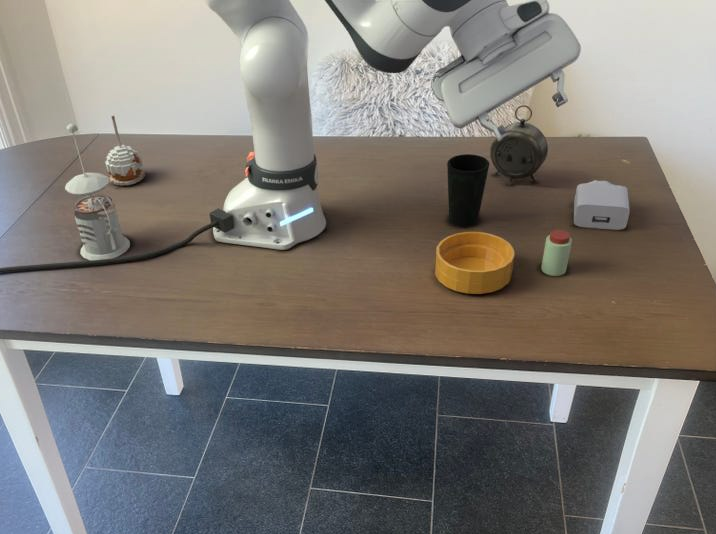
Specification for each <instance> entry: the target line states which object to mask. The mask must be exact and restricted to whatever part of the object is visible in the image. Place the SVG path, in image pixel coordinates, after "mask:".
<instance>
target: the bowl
mask: <svg viewBox="0 0 716 534" xmlns="http://www.w3.org/2000/svg"><path fill="white" fill-rule="evenodd" d="M435 249H436V251H435V264H434V265H435V266H434V272H435V273H434V275H435V278H436V279H437V280H438V282H439V283H441V284H442V285H443V286H444V287H446V288H447V289H450V290H453V291H455V292H457V293H464V294H472V295H477V294H478V295H481V294H489V293H494V292H496V291H500V290H501V289H503V288H505V287H506V286H507V285H508V284H509V283H510V281H511V279H512V276H513V269H514V262H515V255H516V254H515V248H514V247H513V245H511V243H510V242H509V241H507V240H506V239H504V238H503V237H501V236H498V235H496V234H492V233H488V232H483V231H463V232H457V233H454V234H451V235H447V236H446V237H445V238H443V239H442V240H440V241H439V243H438V244H437V246H436V248H435Z"/></svg>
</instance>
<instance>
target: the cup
mask: <svg viewBox="0 0 716 534" xmlns="http://www.w3.org/2000/svg"><path fill="white" fill-rule="evenodd" d="M446 164H447V198H448V199H447V201H448V202H447V203H448V204H447V205H448V222H449V224H451V225H452V226H454V227H458V228H471V227H473V226H476V225H477V224H478V222H479V218H480V213H481V207H482V203H483V197H484V192H485V188H486V183H487V179H488V173H489V169H490V161H489V160H488V159H487V158H486V157H484V156H481V155H477V154H471V153H470V154H467V153H466V154H464V153H463V154H458V155H454V156H452V157H451V158H449V159H448V160H447V162H446Z"/></svg>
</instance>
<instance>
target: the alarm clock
mask: <svg viewBox="0 0 716 534" xmlns="http://www.w3.org/2000/svg"><path fill="white" fill-rule="evenodd" d="M521 108H527V109H528V110H529V117H528V118H527V119H525V118H521V119H520V118H519V117H518V114H517V113H518V110H519V109H521ZM514 116H515V118H516V120H517V122H513V123H509V124H508V125H505V126H504V128H505V131H506V132H507V134H508V136H507V137H506V138H504V139H503V140H501V141H498V140H497V138H496V137H495V138H494V139H493V140H492V143H491V146H490V148H489V149H490V151H489V155H490V160H491V163H492V165H493V167H494V168H495V169H496V171H495V172H494V175H495V176H496V175H498V174H499V173H500V175H503V176H504V177H505V178H508V182H507V184H508V185H509V186H511V185H512V184H513V180H524V179H527V178H530V179H531V180H532V182H533V184H536V183H537V180H536V177H535V174H536V173H537V172H538V171H539V169H540V168H541V167H542V165H543V164H544V163H545V161H546V159H547V156H548V152H549V147H548V145H549V144H548V141H547V139H546V137H545V134H544V133H543V132H542V131H541V130H540V129H539V128H538V127H537V126H535V125H533V124H531V123H528V121H529V120H531V118H532V116H533V110H532V108H531V107H530V106H529V105H526V104H521V105H519V106H518V107H516V108H515V111H514Z"/></svg>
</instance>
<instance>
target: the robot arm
mask: <svg viewBox="0 0 716 534" xmlns="http://www.w3.org/2000/svg"><path fill="white" fill-rule="evenodd" d="M324 1H325V3H326V4H327V5H328V7H329V8H330V10H331V11H332V12H333V14H334V15H335V16H336V18H337V19H338V20H339V22H340V24H342V26H343V28H344V29H345V30H346V31H347V34H349V36H350V38H351V40H352V42H353V44H354V46H355V48H356V50H357V52H358V53H359V55H360V57H361V58H362V60H363V61H364V62H365V63H366V64H367V65H368V66H369V67H370V68H372V69H373V70H375V71H378V72H382V73H387V74H400V73H403V72H405V71H407V70H408V69H409V68H410V66H411V65H412V64H413V63H414V62H415V61H416V59H417V58H418V57H419V55H421V53H422V51H423V50H425V48H427V46H428V45H429V44H430V43H432V41H433V40H434V39H435V38H436V37H437V36H438V35H439V34H440V33H441V32H442V30H443V29H444V28H446V27H448V28H449V31H450V36H451V39H452V40H453V42H454V44H455V46H456V48H457V50H458V52H459V54H460V56H458V57H456V58H454V60H452V61H451V62H449V63H448V64H447V65H445V66H444V67H441V68H439V69H437V70H436V71H435V72H434V73H435V75H433V77H432V79H431V80H430V81H431V82H430V88H431V90H432V93H433V94H434V96H435V98H436V99H437V100H438V101H441V102H443V104H444V107H445V109H446V113H447V116H448V117H449V120H450V122H451V124H452V126H453V127H454V128H457V129H463V128H465V127H467V126H469V125H470V124H472V123H474V122H476V121H478V123H479V125H480V126H481V127H483V128H484V129H486V130H488V131H490V132H492V133H493V134H494V136H495V138H497V140H498V141H501V140H503V139H504V138H506V137H507V136H508V134H507V132H506V131H505V126H504V124H501V125H499V126H496V125H495V124H493V123H491V122H490V118H491V117H490V115H489V114H490V113H491V112H493V111H494V110H496V109H497V108H499V107H501V106H502V105H505V104H506V103H507V102H509V101H512V100H513V99H515V98H516V97H518V96H520V95H522V94H523V93H524V92H526V91H528V90H530V89H531V88H533V87H535V86H536V85H538V84H540V83H542V82H543V81H545V80H547V79H549V78H550V79H551V81H552V82H553V83H556V82H557V83H556V85H557V86H556V93H554V94H553V95H552V96H551V99H552V101H553V102H554V103H555V107H556V108H559V107H561V106H563V105H565V104H567V103H568V102H569V99H568V96H567V94H566V92H565V91H564V88H565V87H564V86H565V72H564V71H563V69H565V68H567V67H569V66H570V65H572V64H574V63H575V62H576V61H578V59H579V57H580V55H581V51H582V46H581V43H580V41H579V39H578V38H577V36H576V34H575V33H574V31H573V29H571V27H570V25H568V23H567V22H566V21H565V20H564V18H562V16H561V15H559V14H557V13H552V12H550V4H549V2H548V0H528V1H525V2H520V3H516V4H512V5H509V3H508V2H507V0H324ZM204 2H205V4H206V5H207V6H208V8H209V9H210V10H211V11H212V12H214V13H215V14H216V15H217V16H218V17H219V18H220V19H221V20H222V21H223V23H224V24H225V25H226V26H227V27H228V28H229V29H230V30H231V32H232V33H233V34H234V35H235V37H236V38H237V39H238V42H239V43H240V46H241V49H240V54H239V69H240V74H241V81H242V86H243V87H242V88H243V91H244V98H245V102H246V106H247V110H248V114H249V119H250V125H251V126H250V127H251V134H252V142H253V151H250V152H249V154H248V156H247V158H246V164H245V170H244V172H245V178H244V179H242V180H241V181H240V182H239V183H237V185H235V186H234V187H233V188H232V189H231V190H230V191H229V192H228V194H227V196H226V198H225V200H224V203H223V208H222V209H221V208H216V209H214V210H213V211H211V212H209V219H210V220H209V221H210V223H209V224H206V225H204V226H202V227H201V228H198V229H197V230H195V231H194V232H193V233H191V234H190V235H189V236H188V237H187V238H185V239H183V240H182V241H180V242H178V243H176V244H173V245H170V246H168V247H165V248H162V249H157V250H155V251H151V252H147V253H143V254H137V255H136V254H135V255H129V256H121V257H120V256H118V257H115V258H110V259H101V260H80V261H68V262H67V261H66V262H56V263H55V262H52V263H39V264H28V265H16V266H6V267H0V274H1V273H10V272H21V271H33V270H34V271H35V270H45V269H59V268H72V267H73V268H74V267H84V266H97V265H105V264H106V265H107V264H115V263H123V262H133V261H139V260H144V259H149V258H152V257H157V256H160V255H164V254H167V253H171V252H173V251H175V250H177V249H179V248H182V247H184V246H186V245H187V244H189V243H191V242H192V241H193V240H194V239H195V238H196V237H197V236H199V235H201V234H203V233H204V232H206V231H209V230H210V229H212V230H213V231H212V233H213V237H214V239H215V241H216V242H218V243H224V244H232V245H240V246H248V247H255V248H264V249H271V250H280V251H286V250H289V249H291V248H292V247H294V246H295V245H297V244H299V243H302V242H303V243H304V242H305V241H308V240H311V239H313V238H316V237H317V236H319V235H320V234H321V233H322V232H323V231H324V230H325V228H326V226H327V220H326V217H325V214H324V212H323V207H322V205H321V201H320V196H319V191H318V184H319V166H318V162H317V155H316V154H315V152H314V151H315V149H314V134H313V133H314V132H313V131H314V130H313V117H312V108H311V98H310V89H309V87H310V86H309V75H308V73H309V72H308V58H309V57H308V56H309V33H308V29H307V27H306V24H305V23H304V21H303V19H302V18H301V16H300V15H299V12H298V11H297V10H296V8H295V7H294V5H293V4H292V2H291V1H290V0H204Z"/></svg>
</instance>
